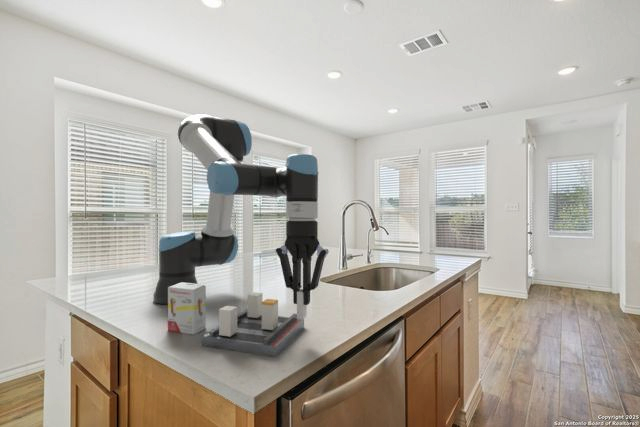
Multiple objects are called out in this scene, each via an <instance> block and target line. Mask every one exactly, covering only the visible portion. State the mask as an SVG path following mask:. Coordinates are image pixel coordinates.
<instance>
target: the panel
mask: <svg viewBox="0 0 640 427" xmlns="http://www.w3.org/2000/svg"><path fill="white" fill-rule="evenodd" d="M304 328H305V318H304V319H303V320H301V319H297V313H292V315H290V316H283V315H282V316H281V315H278V326H277V327H276V328H275V329H274V330H267V329H262V315H261V316H260V317H258V318H253V317H247V309H245V310H243V311H241V312H240V313H237V332H236V333H235V334H233V335H232V336H230V337H229V336H222V335H219V325H218V326H216V327H214V328H213V329H210V330H209V331H207V332H206V333H204V334H202V335H201V346H203V347H208V348H213V349H214V348H215V349H222V350H228V351H235V352H241V353H245V354H246V353H247V354H254V355H259V356H265V357H274V358H277V357H278V356H279V354H281V353H282V351H283V350H285V348H286V347H287V346H288V345H289V344H290V343H291V342H292V341H293V340H294V339H295V338H296V337H297V335H299V333H301V331H302V330H304Z"/></svg>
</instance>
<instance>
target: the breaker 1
mask: <svg viewBox="0 0 640 427" xmlns="http://www.w3.org/2000/svg"><path fill="white" fill-rule="evenodd" d="M237 315H238V306H234V305H233V306H232V305H225V306H223V307H221V308H218V326H219V335H222V336H229V337H230V336H232V335H233V334H235V333H236V332H237Z"/></svg>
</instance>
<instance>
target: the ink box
mask: <svg viewBox="0 0 640 427" xmlns="http://www.w3.org/2000/svg"><path fill="white" fill-rule="evenodd" d="M206 290H207V287H206V285H205V284H202V283H201V284H200V283H198V284H194V283H184V282H181V283H178V284H175V285H173V286H170V287H168V304H167V332H172V333H173V332H174V333H180V334H181V333H182V334H187V335H196V334H197V333H199V332H201V331H203V330H205V329H206V327H207V326H206V323H207V322H206V321H207V320H206V319H207V318H206V314H207V313H206V311H207V310H206V306H207V305H206V303H207V301H206V300H207V296H206V294H207V291H206Z"/></svg>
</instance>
